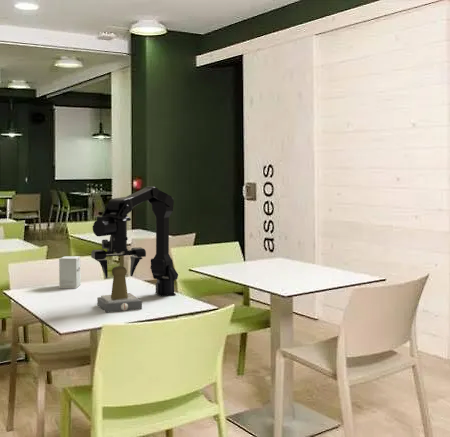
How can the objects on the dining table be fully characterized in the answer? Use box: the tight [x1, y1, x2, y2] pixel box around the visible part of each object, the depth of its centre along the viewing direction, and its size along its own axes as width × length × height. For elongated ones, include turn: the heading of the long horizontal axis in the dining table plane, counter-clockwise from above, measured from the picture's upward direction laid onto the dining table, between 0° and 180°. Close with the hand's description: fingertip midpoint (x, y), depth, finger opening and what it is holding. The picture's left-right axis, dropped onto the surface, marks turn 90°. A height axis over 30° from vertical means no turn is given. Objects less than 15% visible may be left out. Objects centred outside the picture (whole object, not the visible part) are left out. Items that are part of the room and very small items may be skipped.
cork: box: [110, 266, 128, 299], centre depth 223 cm, size 6×6×11 cm
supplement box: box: [58, 255, 81, 289], centre depth 259 cm, size 7×7×13 cm
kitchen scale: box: [97, 292, 143, 313], centre depth 223 cm, size 13×12×4 cm
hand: (118, 277), depth 222 cm, fingers open, 9 cm apart
